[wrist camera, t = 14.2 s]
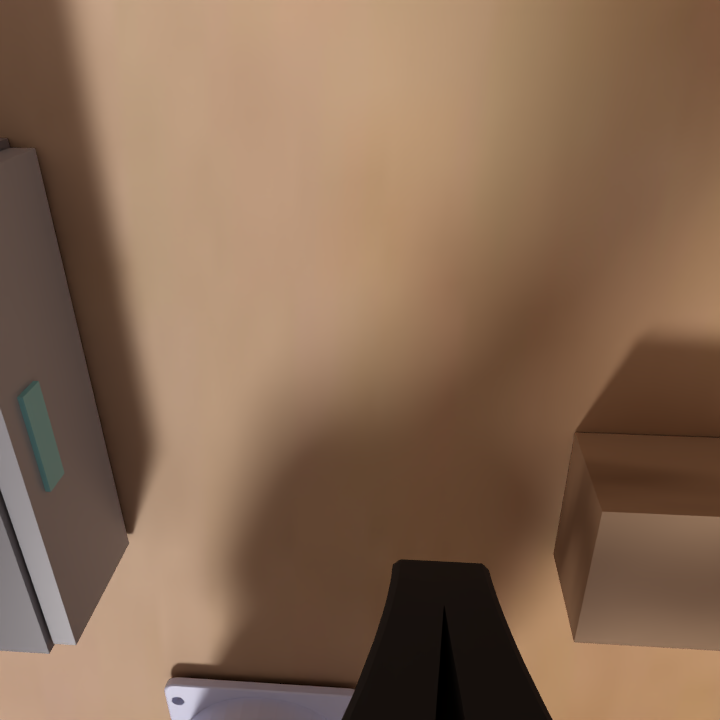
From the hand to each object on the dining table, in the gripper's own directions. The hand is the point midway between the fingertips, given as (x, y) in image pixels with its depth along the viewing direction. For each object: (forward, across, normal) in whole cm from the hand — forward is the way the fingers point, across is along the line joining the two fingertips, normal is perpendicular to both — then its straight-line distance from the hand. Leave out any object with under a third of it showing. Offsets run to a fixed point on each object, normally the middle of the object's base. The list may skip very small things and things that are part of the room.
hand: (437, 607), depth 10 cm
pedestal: (+10, -7, +6) cm, 14 cm away
